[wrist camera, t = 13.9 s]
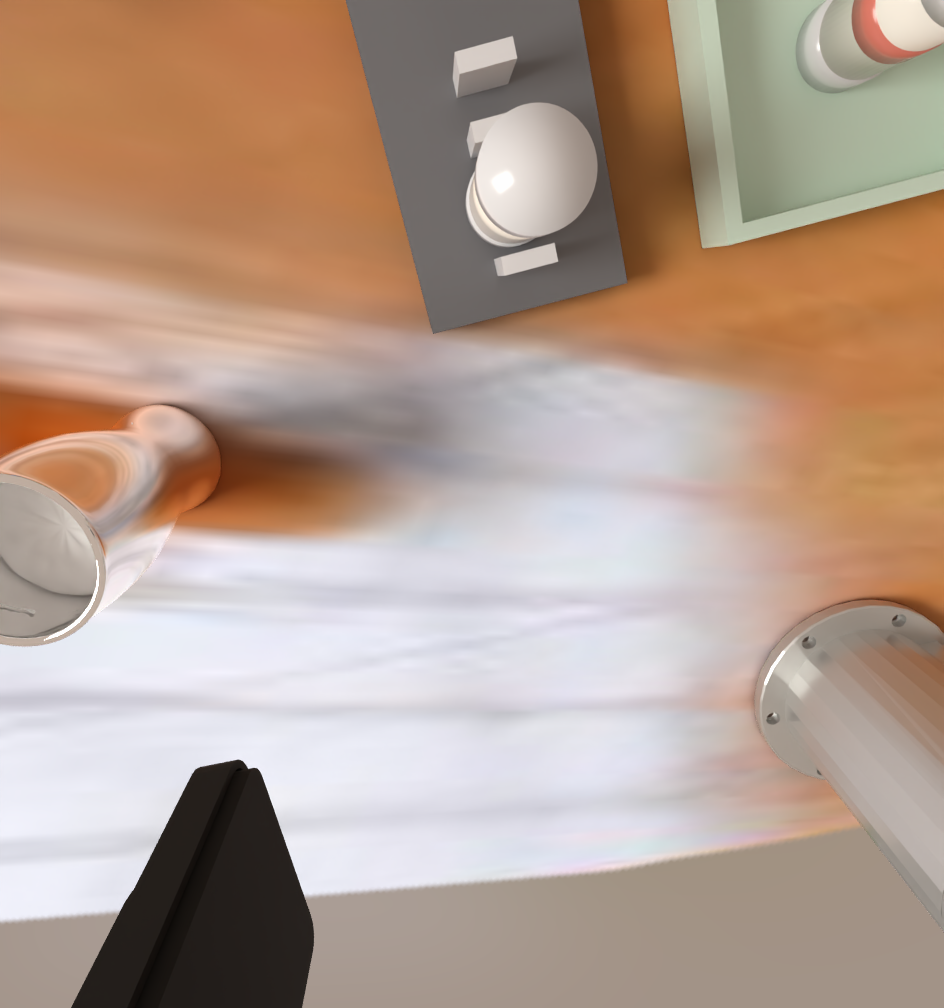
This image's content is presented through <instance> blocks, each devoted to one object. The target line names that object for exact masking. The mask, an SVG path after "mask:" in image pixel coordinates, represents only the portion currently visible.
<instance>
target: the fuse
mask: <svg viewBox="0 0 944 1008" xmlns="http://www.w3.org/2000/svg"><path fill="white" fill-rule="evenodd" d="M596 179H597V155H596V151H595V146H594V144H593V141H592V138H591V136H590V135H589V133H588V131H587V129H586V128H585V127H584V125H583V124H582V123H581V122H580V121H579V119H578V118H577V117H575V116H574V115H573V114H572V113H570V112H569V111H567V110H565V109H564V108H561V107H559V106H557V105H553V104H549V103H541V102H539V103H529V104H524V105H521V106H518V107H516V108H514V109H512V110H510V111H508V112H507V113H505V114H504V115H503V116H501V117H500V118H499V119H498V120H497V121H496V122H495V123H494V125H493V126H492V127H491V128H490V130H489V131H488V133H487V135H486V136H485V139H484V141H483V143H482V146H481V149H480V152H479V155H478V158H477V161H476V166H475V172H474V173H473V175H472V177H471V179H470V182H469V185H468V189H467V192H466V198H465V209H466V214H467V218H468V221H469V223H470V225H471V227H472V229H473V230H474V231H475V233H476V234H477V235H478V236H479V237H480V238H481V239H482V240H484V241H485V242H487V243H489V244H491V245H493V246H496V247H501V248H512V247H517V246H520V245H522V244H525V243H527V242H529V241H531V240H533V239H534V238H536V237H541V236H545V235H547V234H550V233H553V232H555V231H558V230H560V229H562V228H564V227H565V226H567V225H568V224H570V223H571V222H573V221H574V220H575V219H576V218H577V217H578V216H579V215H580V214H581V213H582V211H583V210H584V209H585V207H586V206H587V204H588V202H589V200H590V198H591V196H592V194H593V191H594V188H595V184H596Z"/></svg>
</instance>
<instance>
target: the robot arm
mask: <svg viewBox="0 0 944 1008" xmlns="http://www.w3.org/2000/svg"><path fill="white" fill-rule="evenodd" d="M754 707H755V717H756V720H757V723H758V726H759V730H760V732H761V734H762V735H763V737H764V739H765V740H766V742H767V743H768V745H769V746H770V748H771V749H772V750H773V751H774V753H775V754H776V755H777V756H778V758H779V759H780V760H782V761H783V762H784V763H786V764H787V765H788V766H789V767H791V768H792V769H794V770H796V771H798V772H800V773H802V774H804V775H807V776H810V777H813V778H817V779H821V780H826V781H827V782H828V783H829V784H830V786H831V787H832V788H833V790H834V791H835V792H836V794H837V795H838V796H839V797H840V799H841V800H842V801H843V803H844V804H845V805H846V806H847V808H848V809H849V810H850V812H851V813H852V814H853V816H854V817H855V818H856V819H857V821H858V822H859V823H860V825H861V826H862V827H863V829H864V830H865V831H866V832H867V834H868V835H869V836H870V838H871V839H872V840H873V841H874V843H875V844H876V845H877V847H878V848H879V849H880V851H881V852H882V853H883V854H884V856H885V857H886V858H887V860H888V861H889V862H890V863H891V865H892V866H893V867H894V869H895V870H896V871H897V873H898V874H899V875H900V876H901V878H902V879H903V880H904V881H905V883H906V884H907V886H908V887H909V888H910V889H911V891H912V892H913V893H914V895H915V896H916V897H917V898H918V900H919V901H920V902H921V903H922V905H923V906H924V908H925V909H926V910H927V911H928V913H929V914H930V915H931V917H932V918H933V919H934V920H935V922H936V923H937V924H938V926H939V927H940V928H941V929H942V931H943V932H944V633H943V632H942V631H941V630H940V628H939V627H938V626H937V625H935V624H934V623H933V622H931V621H930V620H929V619H927V618H926V617H925V616H923V615H922V614H920V613H918V612H916V611H915V610H913V609H911V608H909V607H907V606H904V605H901V604H898V603H894V602H891V601H882V600H859V601H851V602H847V603H843V604H839V605H835V606H832V607H830V608H827V609H825V610H823V611H820V612H818V613H815V614H814V615H812V616H811V617H809V618H807V619H806V620H804V621H803V622H801V623H799V624H798V625H797V626H796V627H794V628H793V629H792V630H791V631H790V632H789V633H788V634H786V635H785V636H784V637H783V638H782V639H781V641H780V642H779V643H778V644H777V645H776V647H775V648H774V649H773V650H772V651H771V653H770V655H769V656H768V658H767V660H766V662H765V663H764V665H763V667H762V669H761V672H760V675H759V678H758V681H757V684H756V690H755V697H754ZM313 946H314V930H313V922H312V918H311V914H310V912H309V909H308V906H307V903H306V900H305V897H304V894H303V892H302V889H301V886H300V883H299V880H298V877H297V874H296V872H295V869H294V866H293V863H292V860H291V857H290V854H289V852H288V849H287V846H286V843H285V840H284V837H283V834H282V832H281V829H280V826H279V823H278V820H277V817H276V814H275V812H274V809H273V806H272V803H271V800H270V797H269V794H268V791H267V789H266V786H265V783H264V780H263V777H262V775H261V773H260V771H259V770H258V769H257V768H251V769H248V768H247V766H246V764H245V763H244V762H243V761H241V760H234V761H229V762H224V763H219V764H214V765H209V766H204V767H200V768H197V769H196V770H195V771H194V773H193V774H192V776H191V778H190V780H189V782H188V783H187V785H186V787H185V789H184V791H183V793H182V795H181V797H180V799H179V801H178V803H177V805H176V807H175V809H174V811H173V813H172V815H171V817H170V819H169V821H168V823H167V825H166V827H165V829H164V831H163V833H162V835H161V837H160V839H159V841H158V843H157V845H156V847H155V849H154V851H153V853H152V855H151V857H150V859H149V861H148V863H147V865H146V867H145V869H144V870H143V872H142V874H141V876H140V878H139V880H138V882H137V884H136V886H135V888H134V890H133V891H132V892H131V894H130V895H129V897H128V898H127V900H126V901H125V903H124V905H123V907H122V909H121V911H120V913H119V915H118V917H117V919H116V921H115V923H114V925H113V927H112V929H111V930H110V933H109V935H108V936H107V938H106V940H105V942H104V944H103V946H102V948H101V950H100V952H99V954H98V956H97V958H96V960H95V962H94V964H93V966H92V968H91V970H90V972H89V974H88V976H87V978H86V980H85V981H84V984H83V985H82V987H81V989H80V991H79V993H78V995H77V997H76V999H75V1001H74V1003H73V1005H72V1007H71V1008H302V1004H303V999H304V994H305V989H306V984H307V978H308V973H309V968H310V963H311V958H312V953H313Z"/></svg>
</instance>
